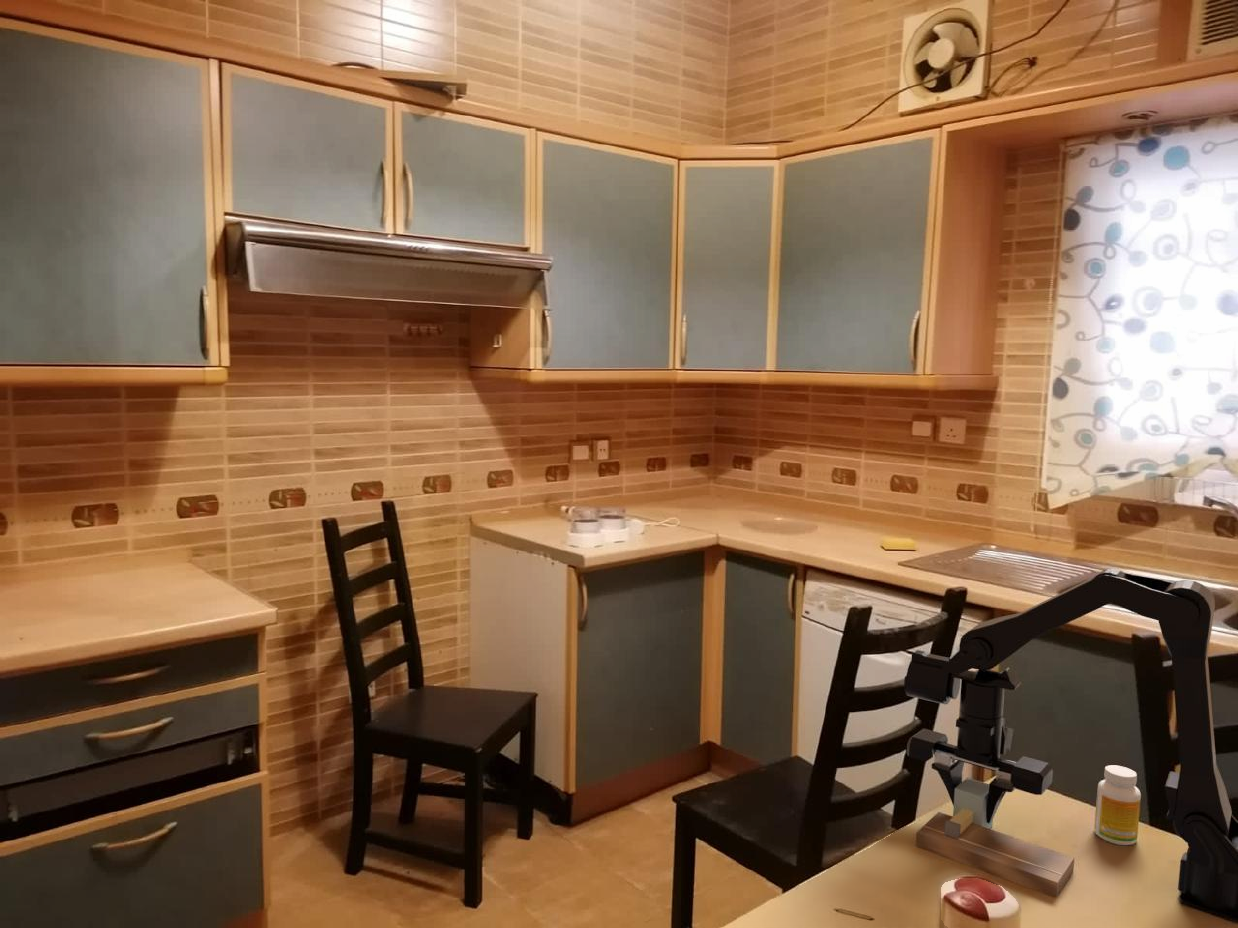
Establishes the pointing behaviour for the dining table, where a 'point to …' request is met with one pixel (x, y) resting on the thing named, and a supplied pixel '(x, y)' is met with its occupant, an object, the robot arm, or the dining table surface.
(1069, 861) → the board
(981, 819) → the light blue block
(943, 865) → the dining table surface
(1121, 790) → the supplement bottle
